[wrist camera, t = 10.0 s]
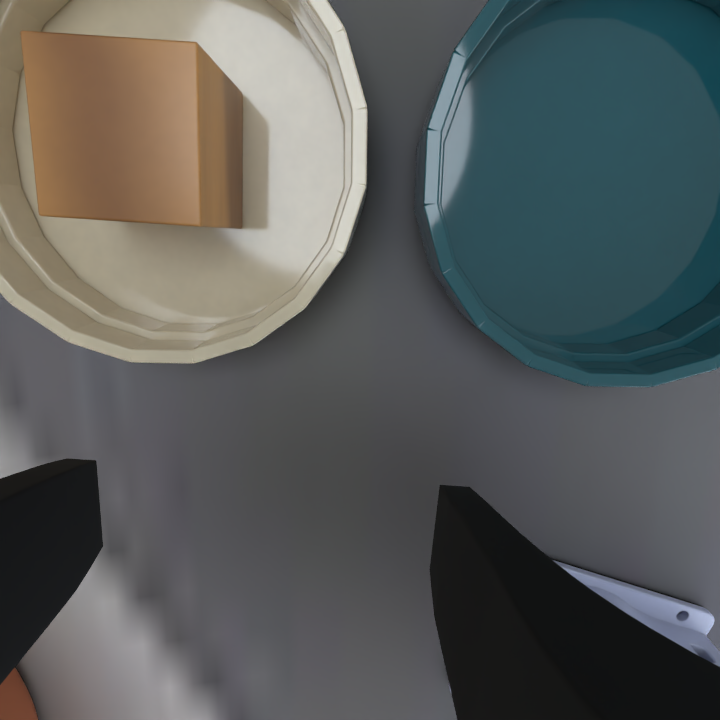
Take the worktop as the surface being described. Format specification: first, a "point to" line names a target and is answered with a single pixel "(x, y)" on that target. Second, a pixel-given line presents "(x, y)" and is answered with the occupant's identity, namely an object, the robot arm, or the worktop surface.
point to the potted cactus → (16, 699)
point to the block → (133, 130)
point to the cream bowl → (188, 243)
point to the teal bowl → (581, 186)
